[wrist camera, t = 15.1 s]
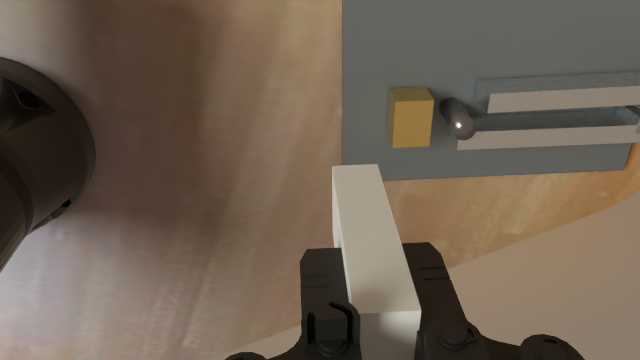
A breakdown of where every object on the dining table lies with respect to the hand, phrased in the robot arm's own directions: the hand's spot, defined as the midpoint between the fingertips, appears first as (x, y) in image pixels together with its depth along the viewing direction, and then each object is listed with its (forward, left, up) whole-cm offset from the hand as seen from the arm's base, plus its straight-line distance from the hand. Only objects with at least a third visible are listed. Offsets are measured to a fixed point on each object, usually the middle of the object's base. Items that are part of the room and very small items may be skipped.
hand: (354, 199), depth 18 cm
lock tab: (+7, -8, -25) cm, 27 cm away
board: (+15, -6, -26) cm, 31 cm away
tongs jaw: (+20, -7, -25) cm, 33 cm away
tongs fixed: (+19, -9, -25) cm, 33 cm away
